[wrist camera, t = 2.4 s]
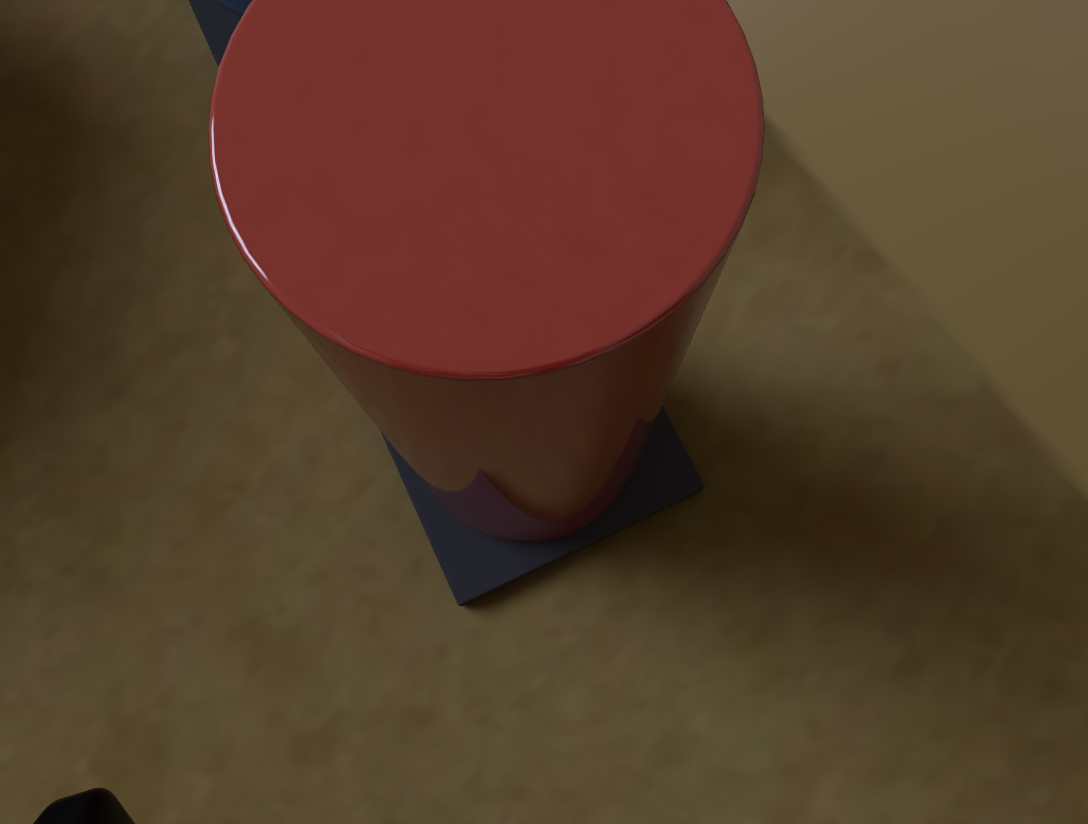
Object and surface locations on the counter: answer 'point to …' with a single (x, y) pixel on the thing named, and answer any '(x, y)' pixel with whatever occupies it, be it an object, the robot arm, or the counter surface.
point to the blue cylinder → (236, 5)
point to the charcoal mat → (493, 561)
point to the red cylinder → (493, 222)
